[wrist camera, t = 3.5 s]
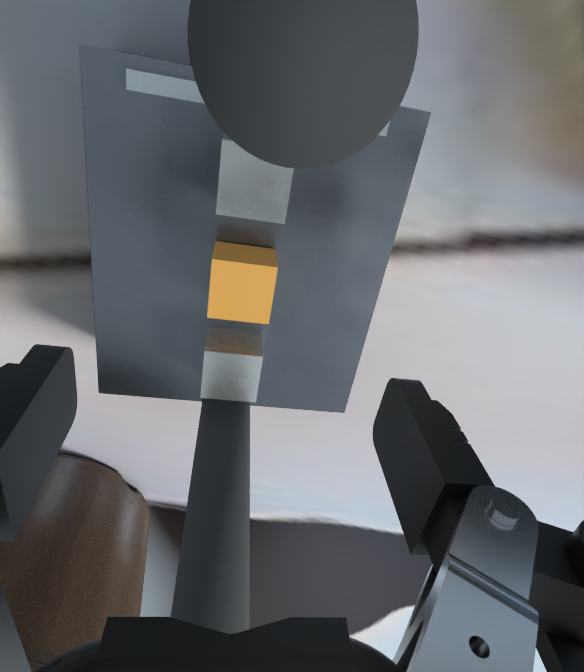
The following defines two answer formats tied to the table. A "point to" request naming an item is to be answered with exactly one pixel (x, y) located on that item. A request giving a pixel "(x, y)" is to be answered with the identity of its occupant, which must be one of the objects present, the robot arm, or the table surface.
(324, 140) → the cable post
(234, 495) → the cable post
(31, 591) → the plant pot
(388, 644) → the table surface
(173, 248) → the grey block holder
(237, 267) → the orange matte cube
